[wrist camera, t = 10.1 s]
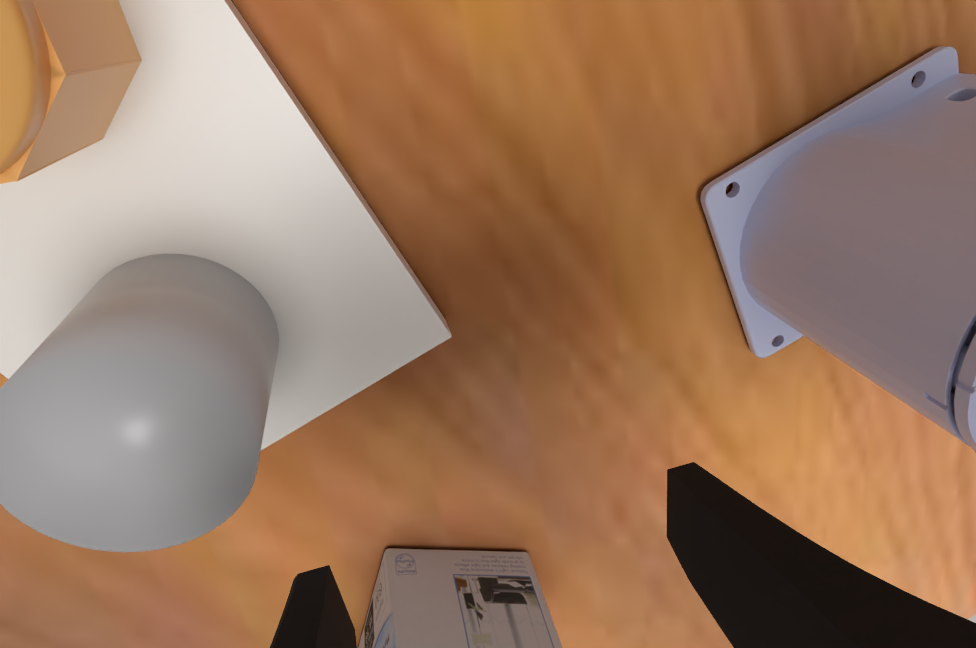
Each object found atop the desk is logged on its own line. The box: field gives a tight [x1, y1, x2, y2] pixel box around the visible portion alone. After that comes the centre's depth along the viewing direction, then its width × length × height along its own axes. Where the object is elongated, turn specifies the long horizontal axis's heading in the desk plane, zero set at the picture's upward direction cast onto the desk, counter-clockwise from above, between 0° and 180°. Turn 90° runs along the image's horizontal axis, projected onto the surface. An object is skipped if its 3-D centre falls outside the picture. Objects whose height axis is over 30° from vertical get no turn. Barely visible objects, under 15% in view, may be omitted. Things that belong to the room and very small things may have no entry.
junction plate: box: [0, 0, 452, 552], centre depth 13 cm, size 11×17×7 cm, turn 28°
